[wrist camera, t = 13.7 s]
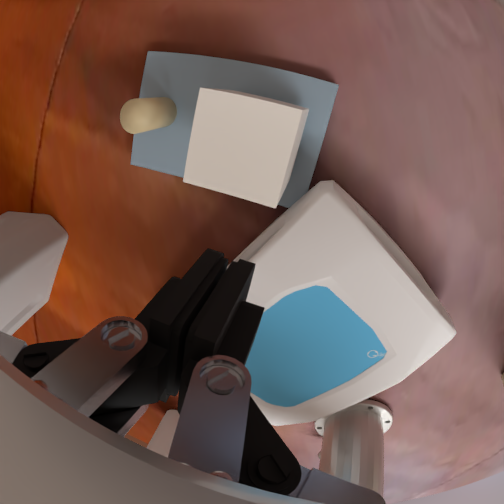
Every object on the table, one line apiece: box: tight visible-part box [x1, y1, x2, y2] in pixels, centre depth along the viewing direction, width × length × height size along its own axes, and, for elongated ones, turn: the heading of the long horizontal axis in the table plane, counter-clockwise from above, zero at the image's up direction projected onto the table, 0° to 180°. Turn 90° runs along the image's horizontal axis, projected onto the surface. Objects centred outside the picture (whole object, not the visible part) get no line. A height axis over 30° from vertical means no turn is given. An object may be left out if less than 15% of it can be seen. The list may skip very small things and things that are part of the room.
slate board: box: [120, 51, 339, 208], centre depth 25 cm, size 12×18×6 cm, turn 77°
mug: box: [147, 410, 180, 458], centre depth 47 cm, size 10×7×12 cm, turn 143°
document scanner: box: [227, 180, 456, 426], centre depth 33 cm, size 21×28×6 cm
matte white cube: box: [183, 88, 309, 209], centre depth 22 cm, size 6×6×8 cm
